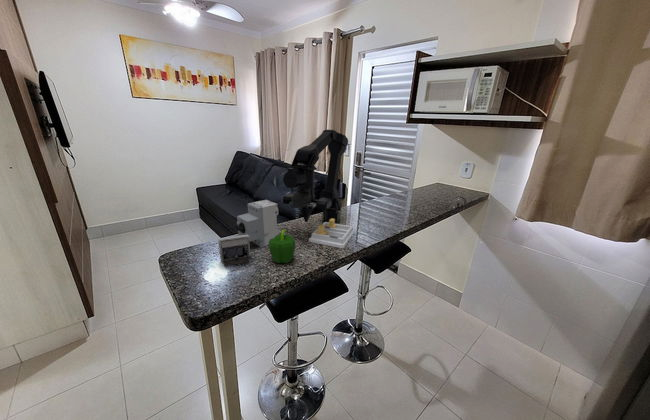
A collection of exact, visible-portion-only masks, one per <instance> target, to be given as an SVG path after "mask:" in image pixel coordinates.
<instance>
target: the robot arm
mask: <svg viewBox="0 0 650 420" xmlns="http://www.w3.org/2000/svg"><path fill="white" fill-rule="evenodd" d="M348 145H349V139H348V137H347V136H346V135H345V134H343V133H341V132H337V130H335V129H324V130H322V132H321V134H320V135H318V137H316V138H315V139H314V140H313V141H312V142H311V143H310V144H308V145H304V146H302V147H300V148H298V149H297V150H296V152H295V155H294V157H293V159H292V161H291V165H290V167H289V168H287V172H285V173H284V175H283V178H282V181H283V184H284V186H285V187H287V189H295V188H296V192H295V193H287V194H285V195H283V196H282V199H281V202H282V204H285V205H290V204H291V205H292V207H293V208H297V209H298V210H299V211H300V213H301V215H302V217H303V221H304V222H305V223H308V222H309V220H310V217H312V216H311V215H312V213H313V211H314V209H315V208H317V209H320V210H323V211H322V212H323V214H322V217H323V218H322V220H321V223H324V222H329V220H330V219H331V218H332V219H335V224H337V223H338V222H339V220H340V211H341V209H342V205H343V203H341V201H340V199H339V197H340V195H339V192H338V189H337V186H338V179H339V173H340V168H341V167H340V166H341V160H342V157H343V155H344V153H345V152H346V151H347V148H348ZM325 148H327V149H328V151H329V160H328V161H329V163H328V167H327V169H328V170H327V175H326V181H325V182H326V183H325V187H324V188H323V189H320V193H319V194H320V195H319V198H318V199H316V195H315V189H316V184H315V171H317V169H318V168H317V166H315V165H316V164H317V162H318V161H319V159H320V154H321V153H322V152H323V151H324V150H325Z"/></svg>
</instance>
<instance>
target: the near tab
mask: <svg viewBox="0 0 650 420" xmlns="http://www.w3.org/2000/svg"><path fill="white" fill-rule="evenodd" d="M322 224H323V223H322ZM322 224H320V225H318V228H317V229H318V232H317V234H323V235H326V231H325V225H322Z"/></svg>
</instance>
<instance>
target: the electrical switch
mask: <svg viewBox="0 0 650 420" xmlns="http://www.w3.org/2000/svg"><path fill="white" fill-rule="evenodd" d="M249 240H250V237H249V235H241V236H240V235H234V236H226V237H220V238H218V240H217V241H218V249H219V257H220V258H219V259H220V261H221V262H223V265H224V266H231V265H235V264H241V263H246V262H250V257H251V247H250V245H251V241H250V242H249Z"/></svg>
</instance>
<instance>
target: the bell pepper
mask: <svg viewBox="0 0 650 420" xmlns="http://www.w3.org/2000/svg"><path fill="white" fill-rule="evenodd" d="M285 233H286V229H282V230H281V234H280V233H279V234H278V235H277V236H275V238H272V239H270V241H269V245H268V246H269V254H270V256H271V258H272V260H273V262H275V263H276V264H281V263H283V264H284V263H285V264H286V263H287V264H288V263H289V262H291V261H292V259H293V258H294V255H295V250H296V241H295V239H294V238H293V237H292V236H291V235H290V234H288V233H287V234H285Z"/></svg>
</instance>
